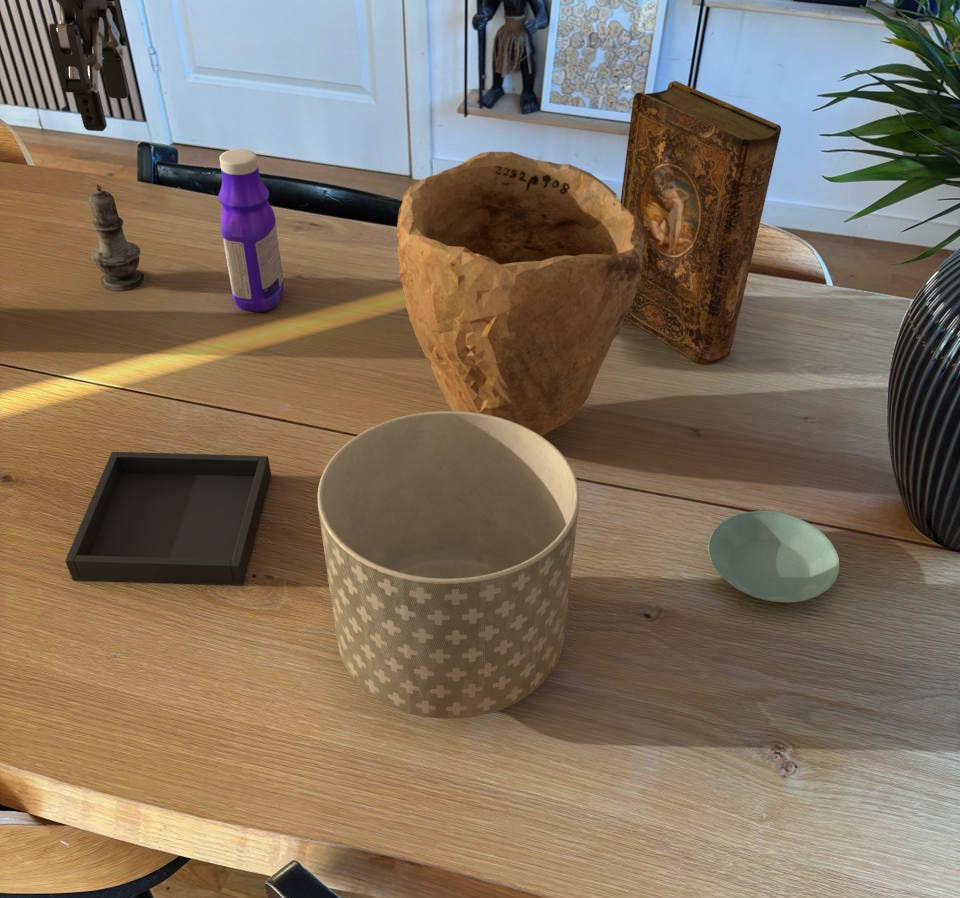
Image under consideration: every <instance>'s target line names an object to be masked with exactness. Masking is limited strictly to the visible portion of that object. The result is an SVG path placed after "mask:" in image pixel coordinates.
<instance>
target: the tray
mask: <svg viewBox="0 0 960 898" xmlns="http://www.w3.org/2000/svg"><path fill="white" fill-rule="evenodd" d="M269 460H270V459H269V456H268V455H247V454H246V455H245V454H243V455H242V454H213V453H212V454H211V453H210V454H205V453H174V452H173V453H172V452H139V451H138V452H137V451H135V452H134V451H111V452H110V455H109V458H108V460H107V462H106V464H105V467H104V469H103V471H102V474H101V476H100V477H99V480H98V483H97V485H96V487H95V490H94V492H93V495H92V497H91V498H90V502H89V504H88V506H87V508H86V511H85V513H84V515H83V518H82V521H81V523H80V524H79V527H78V529H77V532H76V535H75V536H74V539H73V541H72V543H71V546H70V548H69V550H68V552H67V555H66V557H65V560H64V562H65V564H66V568H67V569H68V572H69V574H70V576H71V579H72V581H79V582H81V581H84V582H85V581H86V582H114V583H115V582H117V583H118V582H119V583H147V584H149V583H150V584H151V583H152V584H153V583H154V584H183V585H184V584H186V585H188V584H189V585H221V586H244V585H245V581H246V578H247V574H248V569H249V565H250V561H251V559H252V558H251V557H252V553H253V549H254V547H255V546H254V545H255V542H256V538H257V534H258V530H259V527H260V526H259V525H260V522H261V518H262V514H263V511H264V507H265V502H266V499H267V495H268V492H269V491H268V490H269V487H270V483H271V480H272V471H271V466H270V461H269Z"/></svg>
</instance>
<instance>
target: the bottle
mask: <svg viewBox="0 0 960 898" xmlns="http://www.w3.org/2000/svg"><path fill="white" fill-rule="evenodd" d="M219 166H220V170H221V187H220V190H219V192H218V201H219V203H220V205H222V207H221V215H220V232H221V236H222V242H223V248H224V253H225V258H226V264H227V270H228V277H229V282H230V288H231V295H232V298H233V301H234V303H235V306H236V307H237V308H238V309H240V310H242V311H248V312H254V313H265V312H269V311H270V310H272V309H274V307H276V306H277V305H278V304H279V302H280V301H281V300H282V297H283V295H284V290H285V280H284V273H283V266H282V259H281V252H280V246H279V245H280V243H279V237H278V230H277V223H276V220H277V219H276V214H275V212H274V210H273V207H272V206H271V204H270V202H269V198H270V192H269V189H268V188H267V186H266V185H265V184H264V182H263V180H262V178H261V174H260V169H259V164H258V157H257V154H256V153H255V152H254V151H253V150H251V149H247V148H236V149H235V148H233V149H229V150H226V151H225V152H223V153H221V154H220V155H219Z"/></svg>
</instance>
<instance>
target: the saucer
mask: <svg viewBox="0 0 960 898" xmlns="http://www.w3.org/2000/svg"><path fill="white" fill-rule="evenodd" d="M707 551H708V557H709V560H710V562H711V564H712V566H713V568H714V569H715V571H716V572H717V573H718V575H720V577H721V578H722V579H723V580H724V581H725V582H727V583H728V584H729V585H731V586H732V587H734V589H736V590H738V591H740V592H741V593H743V594H746V595H747V596H750V597H752V598H755V599H758V600H762V601H765V602H770V603H771V602H772V603H798V602H804V601H808V600H811V599H814V598H817V597H819V596H820V595H822V594H824V593H826V592H827V591H828V590H829V589H830V588H831V587H832V586H833V585H834V584H835V582H836V581H837V579H838V576H839V573H840V558H839V554H838V552H837V550H836V548H835V546H834V544H833V543H832V541H831V540H830V539H829V538H828V537H827V536H826V535H825V534H824V533H823V532H822V531H821V530H819V528H817V527H815V526H814V525H813V524H811V523H809V522H807V521H805V520H803V519H802V518H799V517H798V516H794V515H791V514H786V513H783V512H778V511H770V510H756V511H747V512H741V513H738V514H735V515H732V516H730V517H728V518H726V519H724V520H723V521H721V522H720V523H719V524H718V525H717V526H716V527H715V528H714V529H713V531H712V533H711V534H710V537H709V539H708V546H707Z"/></svg>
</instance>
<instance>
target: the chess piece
mask: <svg viewBox="0 0 960 898" xmlns="http://www.w3.org/2000/svg"><path fill="white" fill-rule="evenodd" d="M94 189H95V191H94V192H92V193H91V194H90V196H89V198H88V204H89V205H90V209H91V214H92V216H93V221H92V223H91V225H92V227H93V229H95V230H96V233H97V237H98V240H99V241H98V242H99V246H96V247H95V248H94V249H93V251H92V252H91V254H90V255H91V260H92V261H93V262H94V263H95V265H96V267H97V268H98V269H99V270H100V271H101V272H102V273H103V274H104V275H103V276H102V277H101V279H100V283H101V285H102V286H103V288H104V289H106V290H109V291H115V292H124V291H129V290H133V289H135V288H138V287H139V286H141V285H143V283H144V281H145V279H146V278H145V273H143V272H142V271H141V270H139V269H138V268H139V265H140V260H141V259H140V255H141V252H142V251H141V248H140V247H139V246H138V245H137V244H136V243H134V242H131V241H128V240H127V239H126V236H125V233H124V229H123V225H124V220H123V219H122V218H121V217H120V216H119V214H118V213H119V212H118V209H117V205H116V202H115V198H114V196H113V195H112V193H110V192H109V191H106V190H103V189H102V186H100V185H99V184H96V186H95V188H94Z"/></svg>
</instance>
